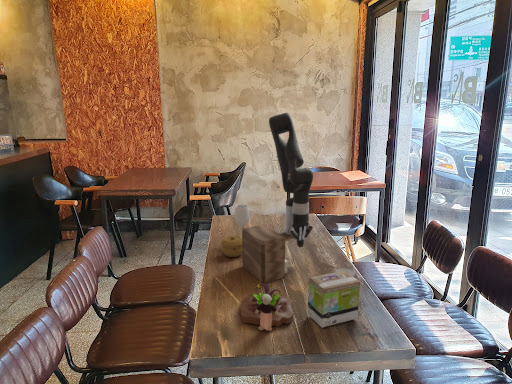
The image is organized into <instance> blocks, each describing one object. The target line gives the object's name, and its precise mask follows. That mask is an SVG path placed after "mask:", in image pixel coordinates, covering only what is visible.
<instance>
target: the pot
mask: <svg viewBox="0 0 512 384" xmlns="http://www.w3.org/2000/svg"><path fill="white" fill-rule="evenodd" d="M220 244H221V248H220V249H221V252H222V254H223V255H224V256H226V257H229V258H230V257H231V258H235V257H239V256H241V255H243V245H242V238H241V236H238V235H230V236H225V237H224V238H222V240H221V242H220Z"/></svg>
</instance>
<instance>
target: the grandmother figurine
mask: <svg viewBox="0 0 512 384" xmlns="http://www.w3.org/2000/svg"><path fill="white" fill-rule="evenodd" d="M262 300H263V303H261V304H260V305H259V306H258V307H257V309H256V311H255V313H256V314H258V312H259V310H262V311H261V318H260V325H258V330H259V331H263V330H265V331H266V332H271V331H272V326H271V325H272V313H271V310H272V311H273V312H275V314H276V315H278V312H277V308H275V307H274V306H273V305H271V304H269V303H270V302H271V301H272V298H271V296H270V295H268V294H264V295H263V296H262Z"/></svg>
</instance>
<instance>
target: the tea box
mask: <svg viewBox="0 0 512 384" xmlns="http://www.w3.org/2000/svg"><path fill="white" fill-rule="evenodd" d="M360 290H361V281H360V280H359V279H357V278H354V277H353V276H351V275H350V274H348V273H347V272H345V271H339V272H330V273H325V274H319V275H315V276H310V277H309V279H308V295H307V312H306V313H307V315H308V316H309V317H310V318H311V319H312V320H313V321H314V322H315V323H316V324H317V325H318V326H319V327H321V329H323V328H325V327H329V326H333V325H337V324H340V323H345V322H349V321H352V320H356V319H358V317H359V316H358V313H359V306H360V305H359V304H360V292H361V291H360Z"/></svg>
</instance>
